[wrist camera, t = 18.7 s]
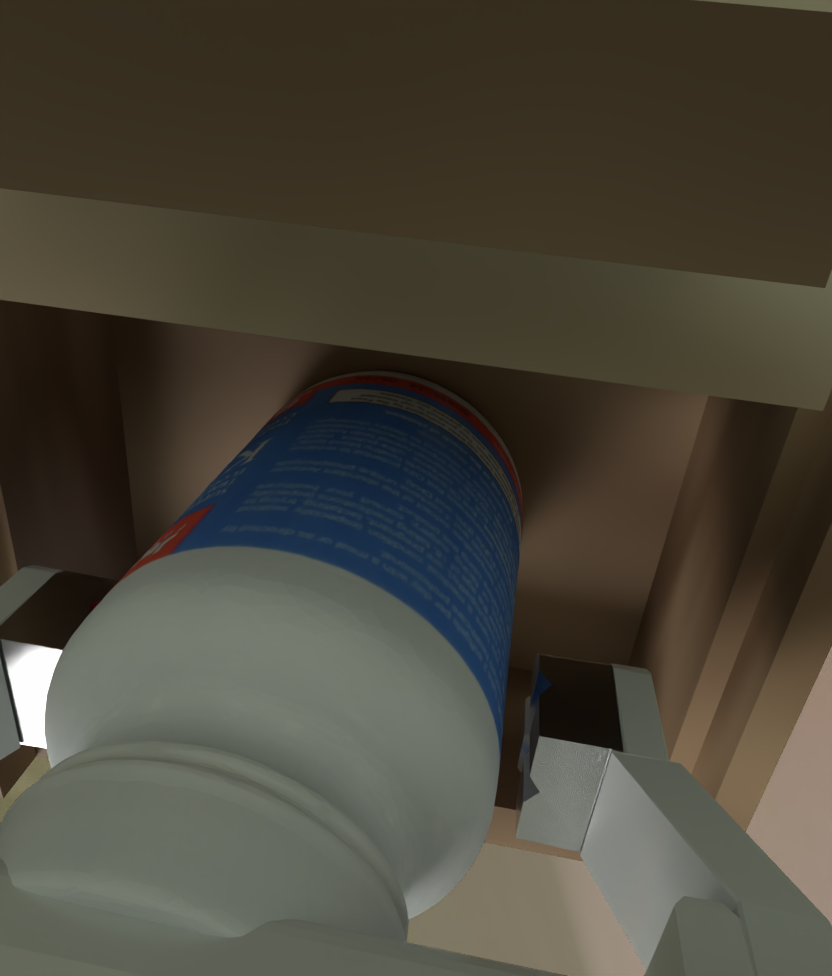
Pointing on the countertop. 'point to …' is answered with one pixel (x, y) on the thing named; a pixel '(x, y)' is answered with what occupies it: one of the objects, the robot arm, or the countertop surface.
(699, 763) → the lid box
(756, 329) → the lid
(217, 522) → the pill bottle
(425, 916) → the countertop surface
